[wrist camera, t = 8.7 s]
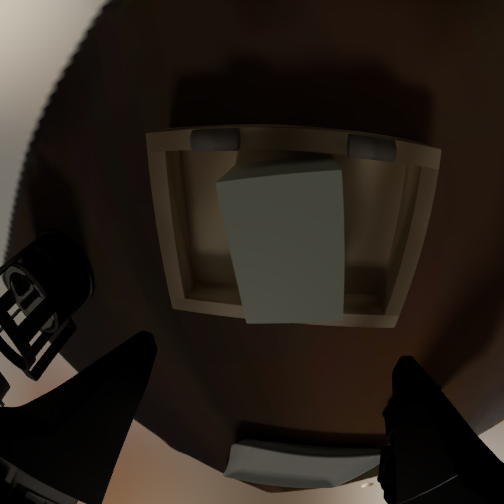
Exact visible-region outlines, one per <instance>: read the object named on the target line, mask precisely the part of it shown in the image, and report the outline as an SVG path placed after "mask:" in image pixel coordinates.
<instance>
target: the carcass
mask: <svg viewBox="0 0 504 504" xmlns="http://www.w3.org/2000/svg"><path fill="white" fill-rule="evenodd" d="M146 141H147V152H148V163H149V172H150V181H151V189H152V197H153V204H154V211H155V218H156V225H157V231H158V237H159V243H160V249H161V254H162V260H163V265H164V270H165V275H166V280H167V285H168V290H169V294H170V299H171V303H172V308H173V309H178V310H185V311H192V312H199V313H206V314H213V315H221V316H229V317H237V318H245V314H244V310H243V306H242V302H241V297H240V293H239V289H238V284H237V280H236V276H235V271H234V267H233V262H232V258H231V254H230V249H229V245H228V240H227V235H226V231H225V226H224V222H223V217H222V212H221V208H220V203H219V198H218V193H217V189H216V184H215V182H217V181H218V180H219V179H220V178H221V177H222V176H223V175H224V174H225V173H227V172H228V171H229V170H230V169H231V168H232V167H233V166H234V165H236V164H243V163H250V162H258V161H266V160H275V159H285V158H295V157H307V156H320V155H332V157H333V158H334V160H335V161H336V163H337V164H338V166H339V167H340V169H341V171H342V185H343V205H344V242H345V267H344V304H343V320H339V321H322V322H299V323H300V324H314V325H330V326H350V327H381V328H394V327H395V325H396V322H397V320H398V317H399V315H400V312H401V310H402V307H403V304H404V302H405V299H406V296H407V293H408V291H409V288H410V285H411V282H412V279H413V276H414V273H415V270H416V266H417V263H418V260H419V256H420V253H421V249H422V246H423V242H424V238H425V235H426V231H427V227H428V222H429V218H430V214H431V209H432V204H433V200H434V194H435V189H436V183H437V178H438V171H439V164H440V157H441V149H438V148H436V147H433V146H430V145H428V144H425V143H422V142H418V141H414V140H409V139H404V138H398V137H393V136H387V135H381V134H374V133H368V132H360V131H353V130H344V129H335V128H324V127H312V126H296V125H269V124H232V125H205V126H189V127H177V128H168V129H163V130H159V131H154V132H150V133H146Z"/></svg>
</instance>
